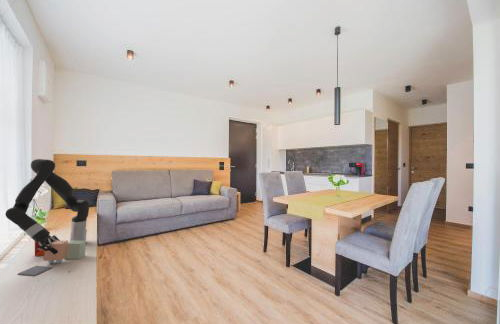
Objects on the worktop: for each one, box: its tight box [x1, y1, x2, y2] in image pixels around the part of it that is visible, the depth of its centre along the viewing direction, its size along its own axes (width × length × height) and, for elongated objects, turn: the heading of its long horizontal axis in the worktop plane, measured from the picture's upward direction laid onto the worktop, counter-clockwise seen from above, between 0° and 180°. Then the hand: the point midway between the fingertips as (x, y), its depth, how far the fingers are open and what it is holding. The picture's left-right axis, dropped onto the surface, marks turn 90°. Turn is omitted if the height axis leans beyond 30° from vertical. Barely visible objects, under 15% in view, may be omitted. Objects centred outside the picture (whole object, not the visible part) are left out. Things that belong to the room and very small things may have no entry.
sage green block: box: [63, 240, 87, 260], centre depth 147 cm, size 9×6×10 cm, turn 97°
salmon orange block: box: [43, 240, 69, 262], centre depth 138 cm, size 9×6×10 cm, turn 106°
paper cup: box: [34, 233, 51, 257], centre depth 149 cm, size 8×8×14 cm
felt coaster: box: [17, 265, 53, 277], centre depth 126 cm, size 10×10×1 cm
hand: (59, 251), depth 138 cm, fingers closed on salmon orange block, 6 cm apart
